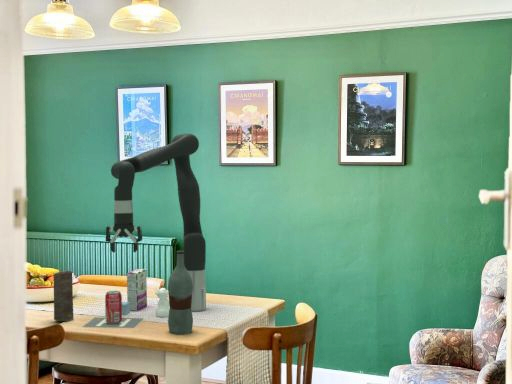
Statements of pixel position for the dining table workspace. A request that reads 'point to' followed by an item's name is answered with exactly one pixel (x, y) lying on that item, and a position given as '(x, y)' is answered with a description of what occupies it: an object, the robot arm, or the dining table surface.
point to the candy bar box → (137, 289)
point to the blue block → (125, 308)
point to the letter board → (123, 324)
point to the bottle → (180, 298)
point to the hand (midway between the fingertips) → (124, 252)
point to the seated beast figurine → (162, 303)
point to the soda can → (113, 307)
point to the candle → (63, 296)
